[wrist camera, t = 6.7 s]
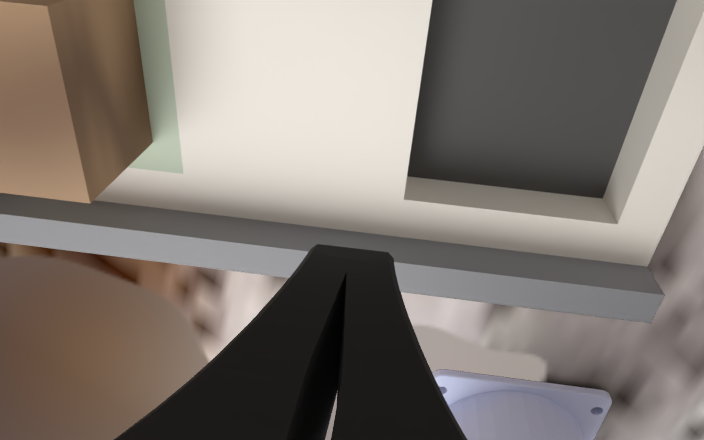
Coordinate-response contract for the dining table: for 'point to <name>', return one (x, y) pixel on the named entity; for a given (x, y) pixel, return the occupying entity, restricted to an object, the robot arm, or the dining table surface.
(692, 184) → the dining table surface
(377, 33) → the deck
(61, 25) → the block
